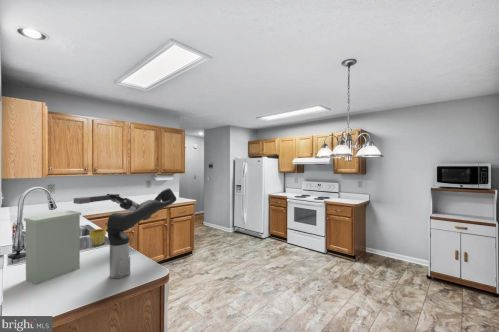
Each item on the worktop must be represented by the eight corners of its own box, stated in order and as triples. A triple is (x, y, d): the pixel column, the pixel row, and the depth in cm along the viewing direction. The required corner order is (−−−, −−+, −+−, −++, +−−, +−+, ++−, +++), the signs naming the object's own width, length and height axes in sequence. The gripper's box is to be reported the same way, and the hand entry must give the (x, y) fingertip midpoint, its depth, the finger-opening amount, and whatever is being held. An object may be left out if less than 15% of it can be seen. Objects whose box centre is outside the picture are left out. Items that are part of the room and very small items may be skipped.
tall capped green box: (69, 264, 140) (69, 210, 139) (81, 268, 135) (81, 212, 135) (24, 280, 121) (23, 218, 120) (35, 285, 116) (35, 220, 116)
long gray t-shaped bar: (115, 198, 164) (115, 193, 164) (120, 198, 161) (120, 194, 161) (73, 203, 140) (73, 198, 140) (79, 204, 138) (79, 198, 138)
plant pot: (87, 246, 169) (87, 233, 169) (92, 242, 179) (92, 229, 179) (103, 245, 172) (103, 232, 172) (107, 241, 182) (107, 228, 182)
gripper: (133, 210, 165) (112, 201, 152) (119, 209, 171) (99, 199, 158) (137, 200, 169) (118, 190, 155) (124, 199, 175) (104, 189, 161)
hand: (108, 195), depth 157 cm, fingers closed on long gray t-shaped bar, 3 cm apart
